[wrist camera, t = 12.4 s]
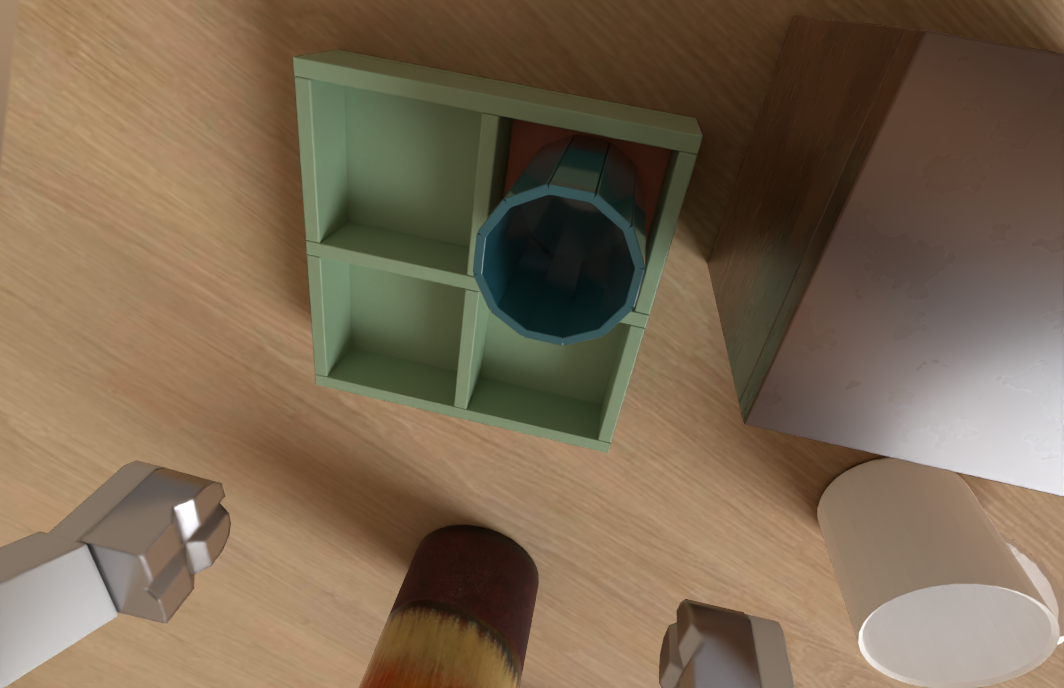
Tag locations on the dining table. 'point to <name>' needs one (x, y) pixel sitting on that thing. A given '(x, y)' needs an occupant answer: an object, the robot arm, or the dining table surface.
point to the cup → (565, 243)
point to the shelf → (903, 251)
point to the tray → (458, 239)
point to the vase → (458, 615)
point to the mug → (935, 579)
